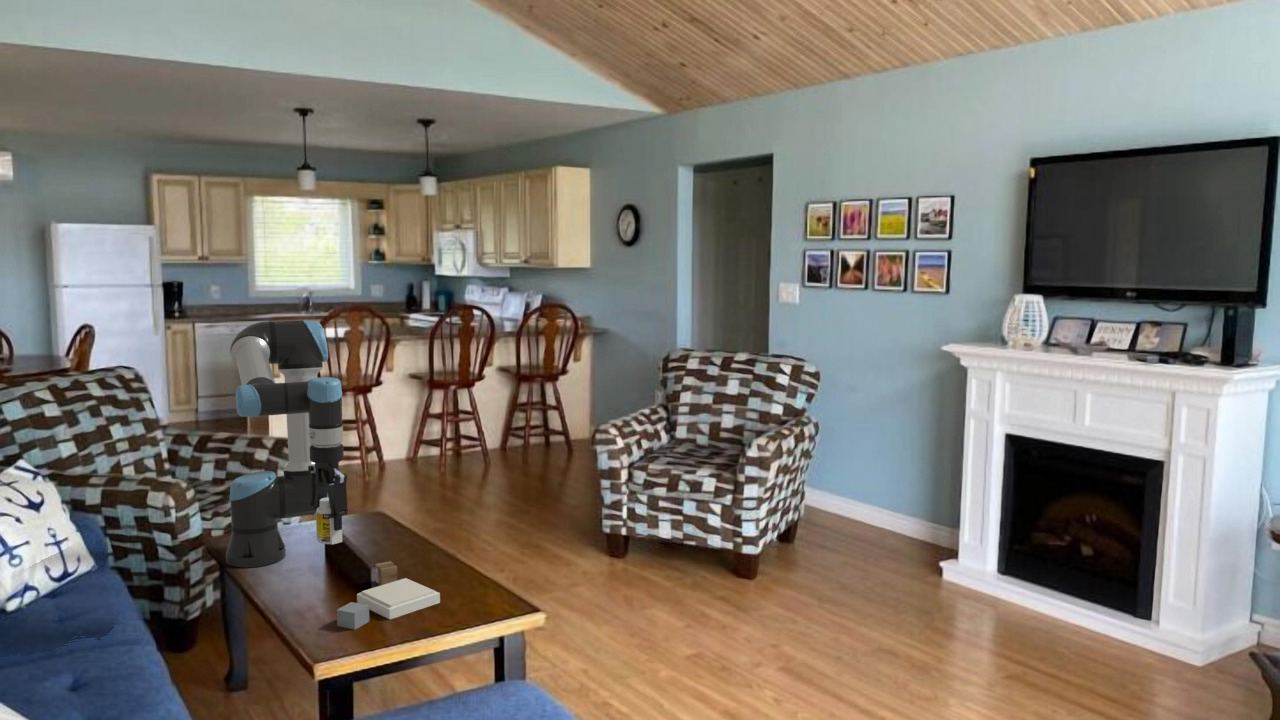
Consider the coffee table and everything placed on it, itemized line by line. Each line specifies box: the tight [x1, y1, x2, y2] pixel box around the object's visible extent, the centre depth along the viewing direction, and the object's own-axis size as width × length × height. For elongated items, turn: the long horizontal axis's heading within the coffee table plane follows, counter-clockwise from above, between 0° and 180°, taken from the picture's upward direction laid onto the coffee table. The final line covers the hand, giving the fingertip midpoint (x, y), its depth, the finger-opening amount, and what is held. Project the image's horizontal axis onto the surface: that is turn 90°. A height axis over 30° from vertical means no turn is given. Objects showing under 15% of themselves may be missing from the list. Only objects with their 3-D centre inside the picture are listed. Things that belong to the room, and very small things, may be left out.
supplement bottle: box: [315, 497, 331, 545], centre depth 223 cm, size 6×6×10 cm
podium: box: [356, 577, 441, 620], centre depth 227 cm, size 14×14×3 cm
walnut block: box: [375, 560, 398, 586], centre depth 240 cm, size 5×4×5 cm
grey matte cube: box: [336, 601, 370, 631], centre depth 215 cm, size 5×5×4 cm
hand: (329, 539), depth 223 cm, fingers closed on supplement bottle, 5 cm apart
